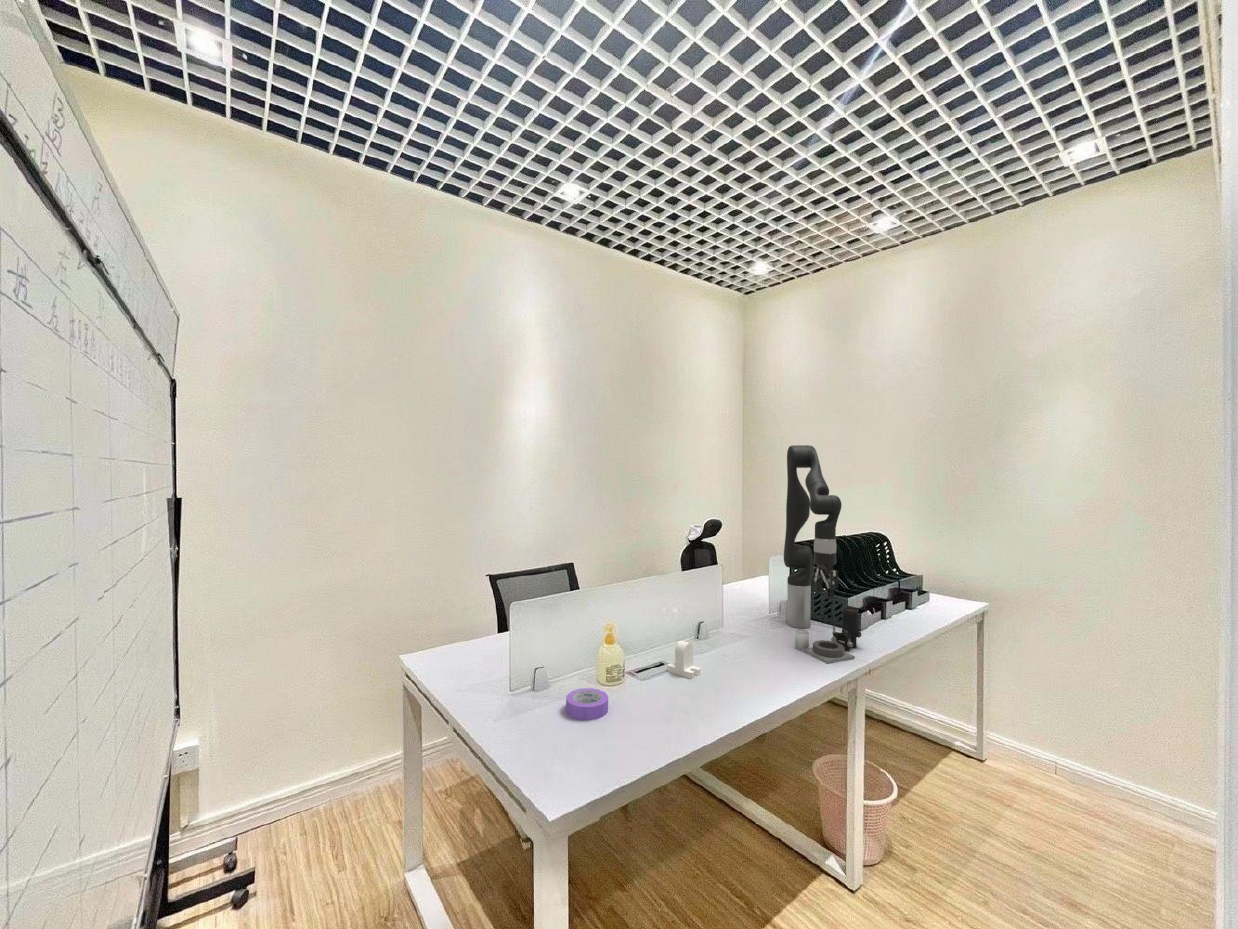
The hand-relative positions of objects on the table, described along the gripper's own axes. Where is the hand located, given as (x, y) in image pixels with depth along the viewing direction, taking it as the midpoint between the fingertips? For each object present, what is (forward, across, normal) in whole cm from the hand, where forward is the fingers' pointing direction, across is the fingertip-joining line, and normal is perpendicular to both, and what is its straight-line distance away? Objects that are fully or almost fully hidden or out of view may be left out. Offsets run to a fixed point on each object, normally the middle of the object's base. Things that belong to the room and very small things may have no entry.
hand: (824, 595), depth 188 cm
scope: (+21, -4, +11) cm, 24 cm away
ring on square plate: (+20, +4, 0) cm, 21 cm away
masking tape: (+20, +36, -87) cm, 96 cm away
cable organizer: (+20, +13, -55) cm, 60 cm away
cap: (+20, -4, -6) cm, 22 cm away
